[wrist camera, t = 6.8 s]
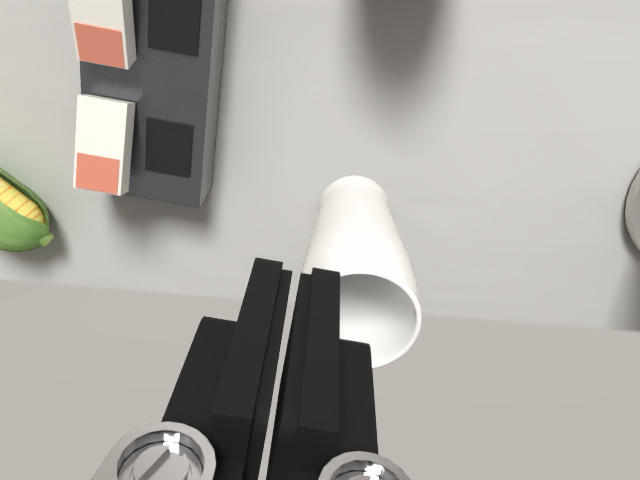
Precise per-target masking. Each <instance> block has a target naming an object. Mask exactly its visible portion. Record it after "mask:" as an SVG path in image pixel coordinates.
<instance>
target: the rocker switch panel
mask: <svg viewBox="0 0 640 480" xmlns="http://www.w3.org/2000/svg"><path fill="white" fill-rule="evenodd" d="M227 3H228V0H132V7H133V19H134V32H135V44H136V57H137V59H136V60H135V62H134V63H133V64H132V66H131V67H130V68H129V69H128V70H127V69H122V68H117V67H111V66H106V65H100V64H95V63H90V62H84V61H80V75H81V94H90V95H95V96H101V97H106V98H112V99H117V100H123V101H128V102H134V103H135V115H134V128H133V140H132V153H131V165H130V178H129V190H128V192H126V193H125V194H123V195H128V196H134V197H140V198H145V199H151V200H157V201H163V202H168V203H174V204H180V205H186V206H191V207H197V208H200V206H201V204H202V203H203V201H204V199H205V197H206V196H207V194H208V192H209V190H210V188H211V187H212V178H213V167H214V155H215V143H216V132H217V120H218V108H219V97H220V85H221V73H222V62H223V50H224V38H225V26H226V15H227Z"/></svg>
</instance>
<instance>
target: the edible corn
mask: <svg viewBox="0 0 640 480" xmlns="http://www.w3.org/2000/svg"><path fill="white" fill-rule="evenodd" d="M54 236H55V235H54V234H52V233H51V232H50V231H49V213H48V211H47V209H46V206H45V204H44V203H43V202H42V201H41V200H40V199H39V198H38V197H37V196H36V194H35V193H34V192H33V191H31V190H30V189H29V188H27V187H26V186H25V185H23V184H22V183H20V182H19V181H18V180H16V179H15V178H14V177H12V176H11V175H10V174H8V173H7V172H5V171H4V170H2V169H1V168H0V250H5V251H11V252H21V251H29V250H34V249H35V248H37V247H38V246H42V247H43V248H44V247H45V246H46V245H47V244H48V243H49V242H50V241H51V240H52V239H53V238H54Z"/></svg>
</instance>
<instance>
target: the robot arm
mask: <svg viewBox="0 0 640 480" xmlns="http://www.w3.org/2000/svg"><path fill="white" fill-rule="evenodd" d="M625 219H626V227H627V230H628V232H629V235H630V238H631V240H632V241H633V242H634V244H635V245H636V247H637V248H638V249H639V250H640V170H639V171H638V173H637V175H636V177H635V179H634V181H633V182H632V184H631V187H630V190H629V193H628V196H627V200H626V208H625ZM282 265H283V262H279V261H273V260H267V259H262V258H255V261H254V265H253V268H252V272H251V275H250V278H249V282H248V285H247V289H246V292H245V296H244V299H243V303H242V306H241V310H240V313H239V317H238V320H237V322H235V321H229V320H223V319H217V318H211V317H205V316H204V317H203V318H202V320H201V322H200V324H199V327H198V329H197V332H196V334H195V337H194V339H193V342H192V344H191V347H190V350H189V352H188V355H187V357H186V360H185V362H184V365H183V368H182V370H181V373H180V375H179V378H178V380H177V383H176V385H175V388H174V391H173V393H172V396H171V398H170V401H169V403H168V406H167V409H166V411H165V414H164V416H163V419H162V421H161V422H158V423H150V424H148V425H145V426H142V427H139V428H136V429H134V430H133V431H131V432H130V433H128V434H127V435H125V436H123V437H122V438H121V439H120V440H119V441H118V443H117V444H116V445H115V446H114V447H113V448H112V449H111V451H110V452H109V453H108V455H107V456H106V458H105V459H104V461H103V463H102V464H101V466H100V467H99V468H98V470H97V471H96V473H95V474H94V476H93V477H92V479H91V480H258V475H259V470H260V464H261V459H262V453H263V448H264V442H265V437H266V431H267V425H268V419H269V414H270V407H271V401H272V395H273V389H274V383H275V377H276V370H277V364H278V358H279V352H280V345H281V339H282V333H283V326H284V320H285V314H286V308H287V302H288V295H289V289H290V283H291V277H292V271H289V270H283V269H282ZM266 480H410V478H409V477H408V476H407V475H406V474H405V473H404V471H403V470H402V469H401V468H400V467H398V466H397V465H396V464H394V463H393V462H392V461H390V460H389V459H387V458H384V457H382V456H380V455H378V444H377V430H376V416H375V401H374V388H373V374H372V358H371V348H370V345H369V343H363V342H357V341H351V340H345V339H340V272H338V271H332V270H326V269H320V268H314V267H313V269H312V273H311V274H306V273H301V275H300V280H299V286H298V291H297V296H296V302H295V307H294V313H293V318H292V323H291V329H290V333H289V339H288V344H287V350H286V355H285V360H284V366H283V371H282V377H281V382H280V388H279V394H278V402H277V409H276V415H275V422H274V429H273V435H272V442H271V449H270V456H269V463H268V469H267V476H266Z"/></svg>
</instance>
